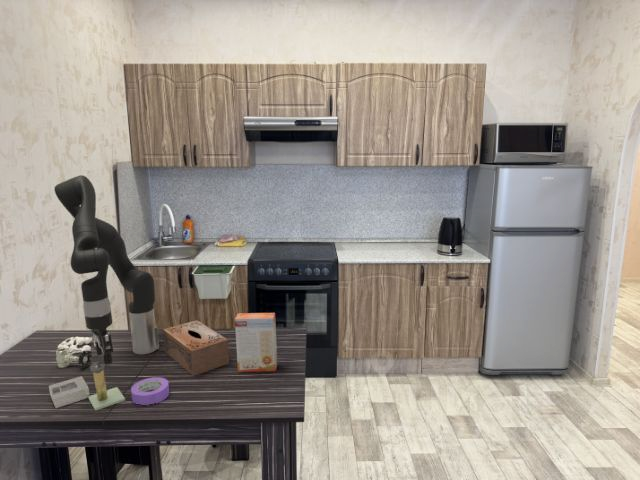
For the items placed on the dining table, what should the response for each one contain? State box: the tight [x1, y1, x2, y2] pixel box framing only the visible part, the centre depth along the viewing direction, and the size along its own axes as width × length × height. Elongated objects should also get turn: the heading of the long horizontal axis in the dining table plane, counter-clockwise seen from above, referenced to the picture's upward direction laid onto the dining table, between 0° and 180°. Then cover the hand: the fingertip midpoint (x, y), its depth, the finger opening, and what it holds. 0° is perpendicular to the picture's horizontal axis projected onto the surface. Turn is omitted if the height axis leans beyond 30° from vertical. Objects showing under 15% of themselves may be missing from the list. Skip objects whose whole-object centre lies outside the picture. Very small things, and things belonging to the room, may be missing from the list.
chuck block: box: [48, 375, 91, 409], centre depth 150 cm, size 10×10×4 cm
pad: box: [87, 386, 126, 411], centre depth 148 cm, size 9×9×1 cm
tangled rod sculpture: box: [57, 336, 96, 355], centre depth 186 cm, size 19×14×4 cm
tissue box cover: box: [162, 319, 230, 377], centre depth 176 cm, size 26×14×10 cm, turn 41°
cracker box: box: [234, 312, 278, 373], centre depth 165 cm, size 14×6×21 cm, turn 89°
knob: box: [89, 360, 108, 401], centre depth 146 cm, size 4×4×12 cm
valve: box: [55, 348, 93, 369], centre depth 170 cm, size 7×7×12 cm
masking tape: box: [130, 376, 170, 406], centre depth 150 cm, size 12×12×4 cm
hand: (104, 358), depth 145 cm, fingers open, 8 cm apart
